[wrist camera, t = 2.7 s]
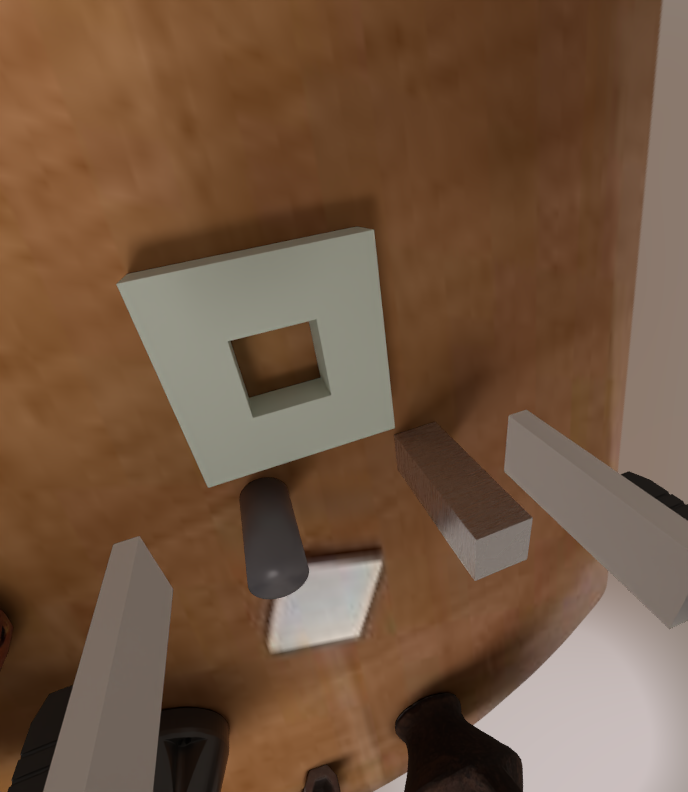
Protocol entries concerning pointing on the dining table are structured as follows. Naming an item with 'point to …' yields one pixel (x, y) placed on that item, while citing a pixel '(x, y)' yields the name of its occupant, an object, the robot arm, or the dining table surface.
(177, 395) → the socket board
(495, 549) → the square peg
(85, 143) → the dining table surface
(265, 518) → the round peg
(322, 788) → the tube
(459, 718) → the jug
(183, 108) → the dining table surface
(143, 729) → the robot arm
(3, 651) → the bread roll
